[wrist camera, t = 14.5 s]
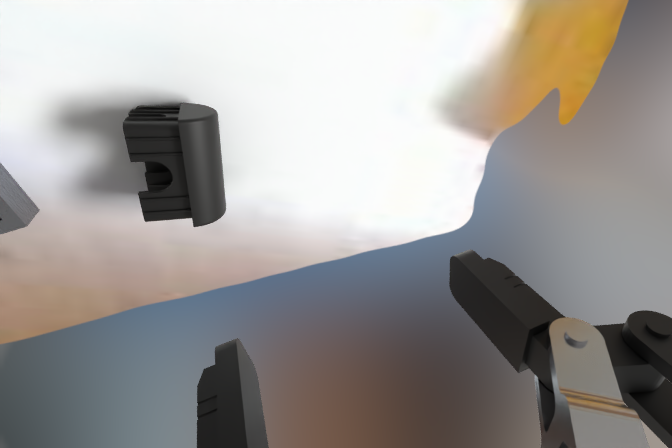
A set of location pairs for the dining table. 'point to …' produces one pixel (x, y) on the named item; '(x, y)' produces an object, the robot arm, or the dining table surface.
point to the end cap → (178, 161)
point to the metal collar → (14, 204)
